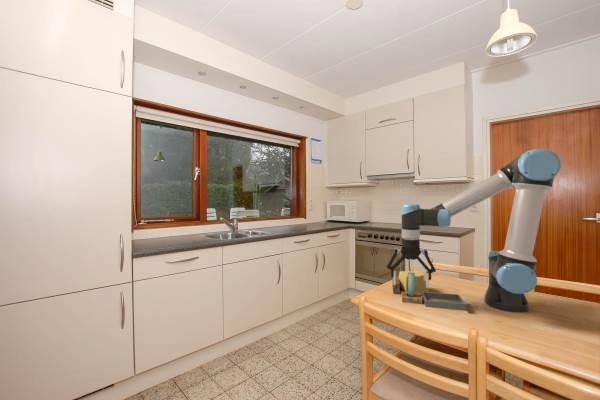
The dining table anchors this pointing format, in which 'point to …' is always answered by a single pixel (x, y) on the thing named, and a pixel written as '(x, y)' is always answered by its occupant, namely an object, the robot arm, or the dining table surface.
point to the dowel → (411, 284)
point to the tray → (444, 305)
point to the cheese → (419, 281)
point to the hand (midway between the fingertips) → (410, 285)
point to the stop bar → (396, 286)
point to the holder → (411, 298)
